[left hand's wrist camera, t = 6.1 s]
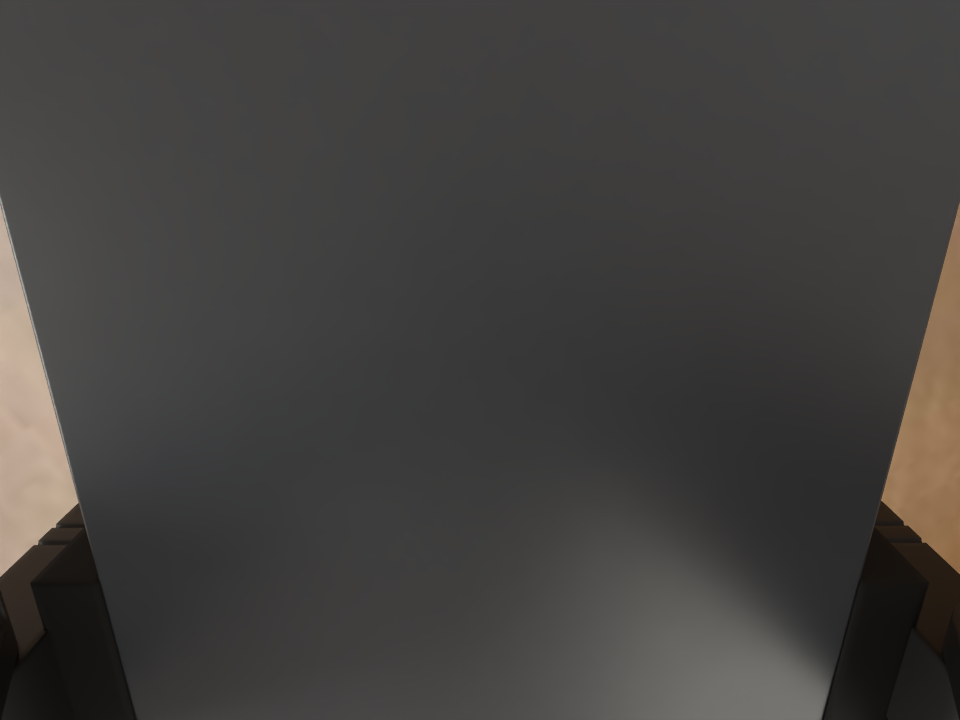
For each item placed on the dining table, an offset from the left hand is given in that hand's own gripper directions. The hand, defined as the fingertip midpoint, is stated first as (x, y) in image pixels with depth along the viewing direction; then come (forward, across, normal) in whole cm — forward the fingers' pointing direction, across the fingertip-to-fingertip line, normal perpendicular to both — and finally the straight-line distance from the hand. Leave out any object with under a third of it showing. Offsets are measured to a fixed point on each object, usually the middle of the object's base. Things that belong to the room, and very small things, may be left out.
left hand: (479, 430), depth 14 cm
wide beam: (0, 0, -28) cm, 28 cm away
